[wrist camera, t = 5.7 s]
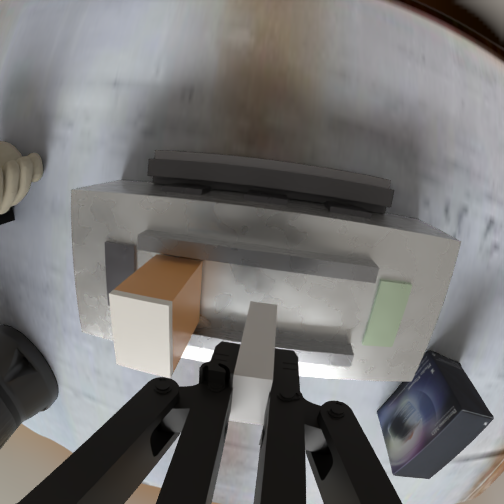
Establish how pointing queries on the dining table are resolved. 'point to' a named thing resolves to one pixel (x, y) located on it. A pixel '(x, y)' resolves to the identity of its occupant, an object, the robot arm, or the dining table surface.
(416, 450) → the small box
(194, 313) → the lever
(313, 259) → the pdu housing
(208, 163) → the grooved gray rail
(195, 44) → the dining table surface
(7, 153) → the decorative object
